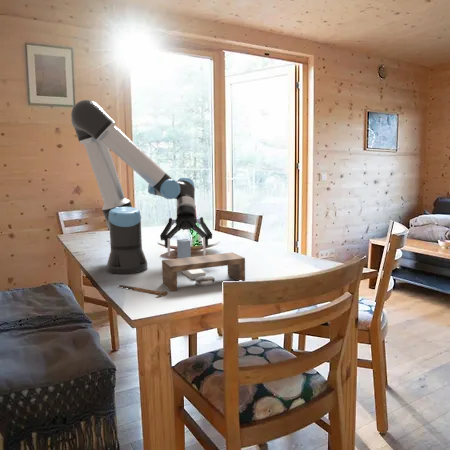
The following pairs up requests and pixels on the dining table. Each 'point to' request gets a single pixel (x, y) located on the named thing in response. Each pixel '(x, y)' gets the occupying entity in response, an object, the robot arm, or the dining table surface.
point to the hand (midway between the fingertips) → (186, 253)
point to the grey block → (184, 252)
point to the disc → (205, 280)
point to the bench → (202, 266)
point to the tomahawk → (146, 290)
